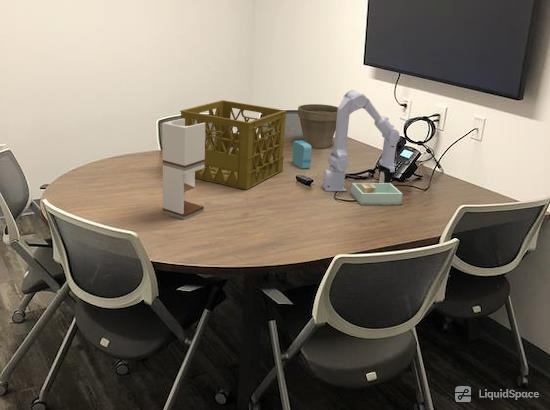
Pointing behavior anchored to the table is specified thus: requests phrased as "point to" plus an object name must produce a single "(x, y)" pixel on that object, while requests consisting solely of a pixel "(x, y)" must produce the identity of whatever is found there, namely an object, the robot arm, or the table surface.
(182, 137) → the notched white pedestal
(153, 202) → the table surface
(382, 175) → the metal cylinder
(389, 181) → the robot arm
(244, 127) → the milk crate
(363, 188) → the maple block
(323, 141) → the plant pot
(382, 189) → the tote
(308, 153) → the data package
